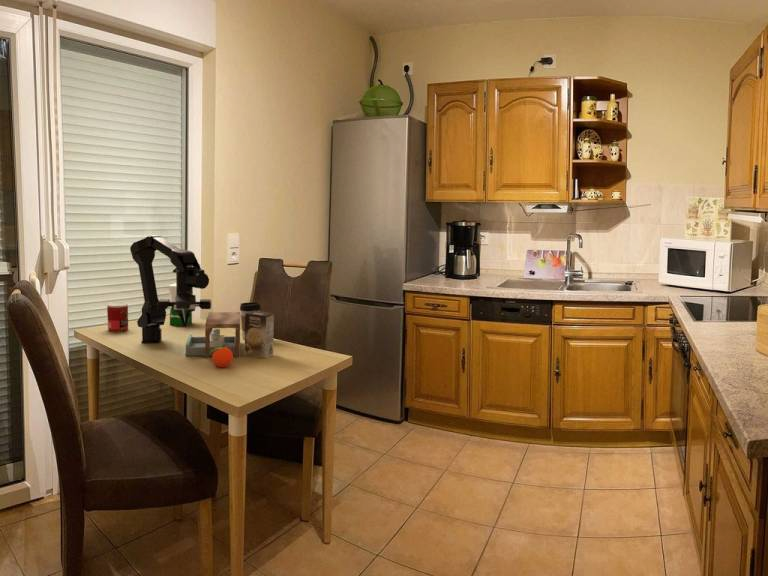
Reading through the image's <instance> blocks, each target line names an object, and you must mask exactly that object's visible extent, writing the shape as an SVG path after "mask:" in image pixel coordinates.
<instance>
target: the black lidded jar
mask: <svg viewBox="0 0 768 576" xmlns="http://www.w3.org/2000/svg"><path fill="white" fill-rule="evenodd" d="M239 305H240V306H239V311H240V325H241V331H242V332H241V335H242V340H244V341H245V313H248V312H251V311H261V303H260V302H241V303H240V304H239Z"/></svg>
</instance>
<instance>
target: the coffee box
mask: <svg viewBox="0 0 768 576" xmlns="http://www.w3.org/2000/svg"><path fill="white" fill-rule="evenodd" d="M274 323H275V313H273V312H267V311H261V310H260V311H251V312H248V313H245V340H244V356H247V357H248V356H249V357H253V358H258V359H259V358H260V359H267V358H269V357H271V356H273V355H274V331H275V330H274V329H275V328H274V326H275V325H274ZM272 354H273V355H272ZM270 355H271V356H270ZM268 356H269V357H268ZM266 357H267V358H266Z"/></svg>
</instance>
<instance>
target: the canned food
mask: <svg viewBox="0 0 768 576" xmlns="http://www.w3.org/2000/svg"><path fill="white" fill-rule="evenodd" d="M106 306H107V307H106V309H107V310H106V311H107V329H108V331H109V332H111V331H114V332H113V333H119V332H118V331H122V332H126V331H128V329H129V304H128V303H126V302H125V303H124V302H111V303H107V305H106ZM125 330H126V331H125Z"/></svg>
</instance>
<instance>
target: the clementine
mask: <svg viewBox="0 0 768 576" xmlns="http://www.w3.org/2000/svg"><path fill="white" fill-rule="evenodd" d="M215 349H216V350H215ZM215 349H213V350H215V351H214V353H213V355H211V356H212V362H213V364H214V365H215V366H217V367H219V368H226V367H229V366H230V365H231V363H232V362H233V360H234V355H233V353H232V351H231V350H230V349H228V348H227V347H218V348H215ZM213 350H212V351H213ZM212 351H211V352H212ZM211 352H210V353H211Z"/></svg>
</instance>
